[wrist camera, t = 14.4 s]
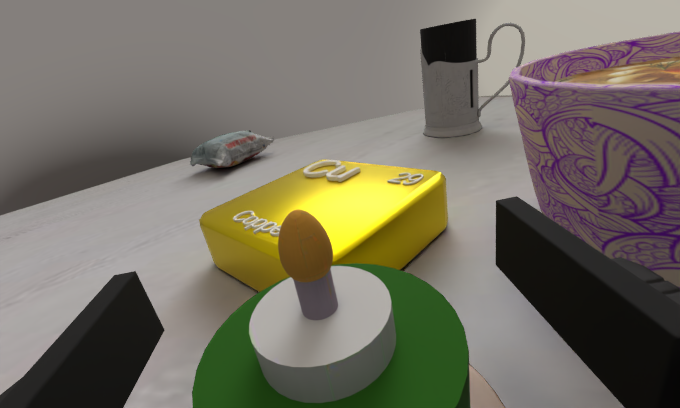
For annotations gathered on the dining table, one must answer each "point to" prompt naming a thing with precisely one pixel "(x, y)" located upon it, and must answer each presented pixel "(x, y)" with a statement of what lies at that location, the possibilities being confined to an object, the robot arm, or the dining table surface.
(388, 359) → the candle
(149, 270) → the dining table surface
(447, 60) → the glass holder
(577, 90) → the bowl of food
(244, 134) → the packaged food
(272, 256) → the element tile
